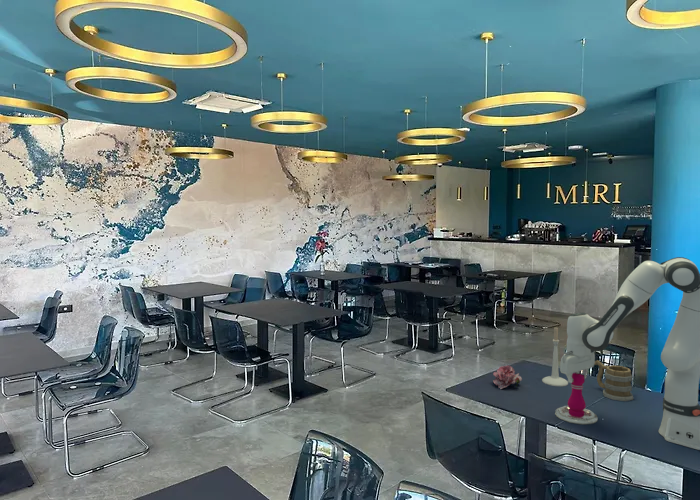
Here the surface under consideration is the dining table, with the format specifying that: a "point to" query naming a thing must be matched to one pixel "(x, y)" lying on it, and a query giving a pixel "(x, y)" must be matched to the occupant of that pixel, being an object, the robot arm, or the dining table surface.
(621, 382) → the tankard
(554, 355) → the candlestick
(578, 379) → the pepper mill
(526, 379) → the dining table surface
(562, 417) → the silver metal plate
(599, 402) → the dining table surface
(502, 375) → the flower
